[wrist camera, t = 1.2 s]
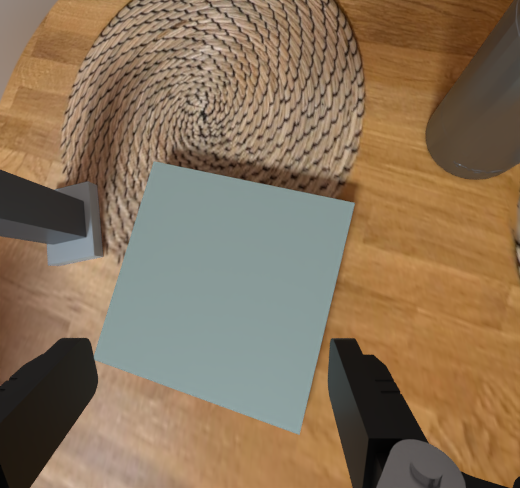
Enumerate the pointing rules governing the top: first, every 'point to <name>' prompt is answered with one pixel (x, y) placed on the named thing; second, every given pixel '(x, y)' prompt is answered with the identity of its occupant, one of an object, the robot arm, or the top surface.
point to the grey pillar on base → (52, 218)
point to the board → (227, 291)
